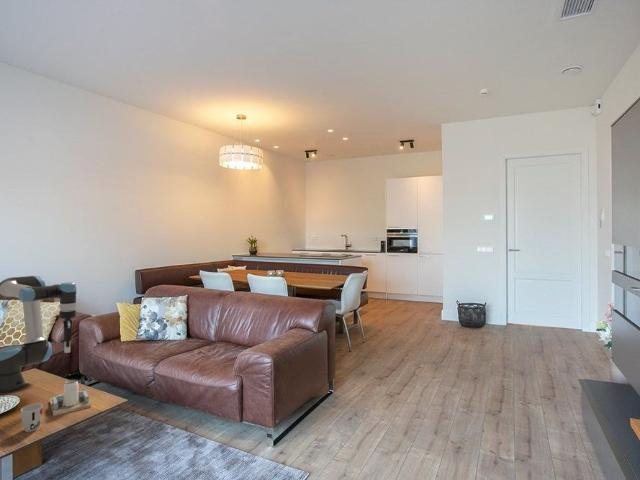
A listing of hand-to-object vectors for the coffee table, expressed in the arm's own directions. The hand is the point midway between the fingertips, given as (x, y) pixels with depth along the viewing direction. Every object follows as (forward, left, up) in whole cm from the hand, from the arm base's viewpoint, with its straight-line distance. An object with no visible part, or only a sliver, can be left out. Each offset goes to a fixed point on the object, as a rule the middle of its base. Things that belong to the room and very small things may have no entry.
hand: (67, 352), depth 210 cm
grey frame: (+16, 0, -23) cm, 28 cm away
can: (+18, 0, -23) cm, 29 cm away
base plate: (+14, 0, -24) cm, 28 cm away
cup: (+33, -17, -25) cm, 45 cm away
